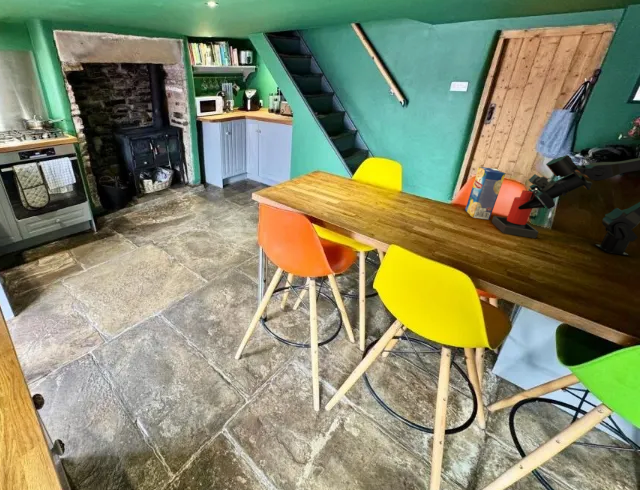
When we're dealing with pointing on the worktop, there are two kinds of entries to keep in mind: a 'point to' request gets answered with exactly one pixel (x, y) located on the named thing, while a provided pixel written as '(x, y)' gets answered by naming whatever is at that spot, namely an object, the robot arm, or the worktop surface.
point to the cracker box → (484, 192)
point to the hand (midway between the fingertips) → (517, 206)
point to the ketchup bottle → (517, 214)
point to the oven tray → (514, 227)
